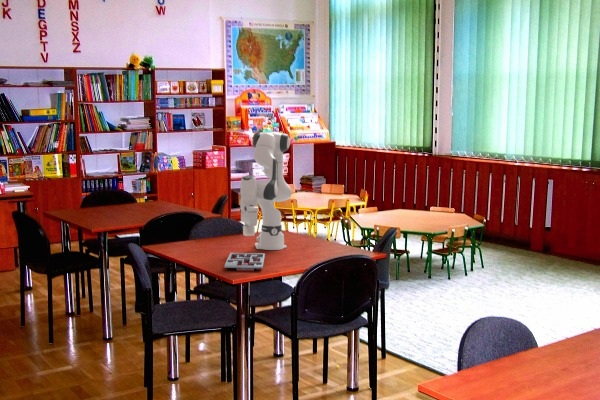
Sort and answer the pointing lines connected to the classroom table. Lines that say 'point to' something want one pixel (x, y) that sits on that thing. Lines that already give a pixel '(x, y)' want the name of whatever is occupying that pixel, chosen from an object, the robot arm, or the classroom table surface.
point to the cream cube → (245, 231)
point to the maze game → (245, 261)
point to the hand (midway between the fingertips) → (248, 232)
